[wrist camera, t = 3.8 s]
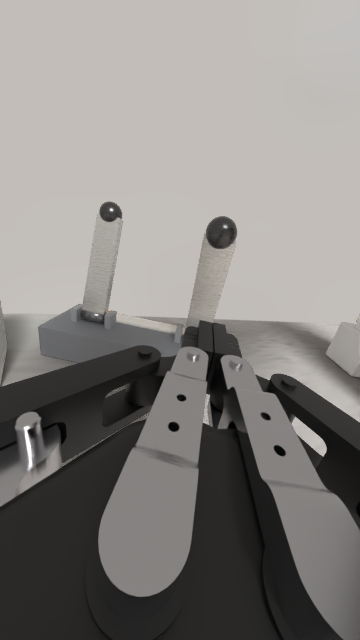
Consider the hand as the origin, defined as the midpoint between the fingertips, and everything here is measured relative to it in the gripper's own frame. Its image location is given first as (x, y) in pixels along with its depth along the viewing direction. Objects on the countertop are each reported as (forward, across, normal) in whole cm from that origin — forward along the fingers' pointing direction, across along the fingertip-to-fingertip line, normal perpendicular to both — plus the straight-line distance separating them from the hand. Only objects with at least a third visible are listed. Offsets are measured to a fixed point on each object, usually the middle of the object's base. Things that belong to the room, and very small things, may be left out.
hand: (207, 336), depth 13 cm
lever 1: (+14, +14, +7) cm, 21 cm away
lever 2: (+14, 0, +7) cm, 16 cm away
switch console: (+14, +7, +12) cm, 20 cm away
